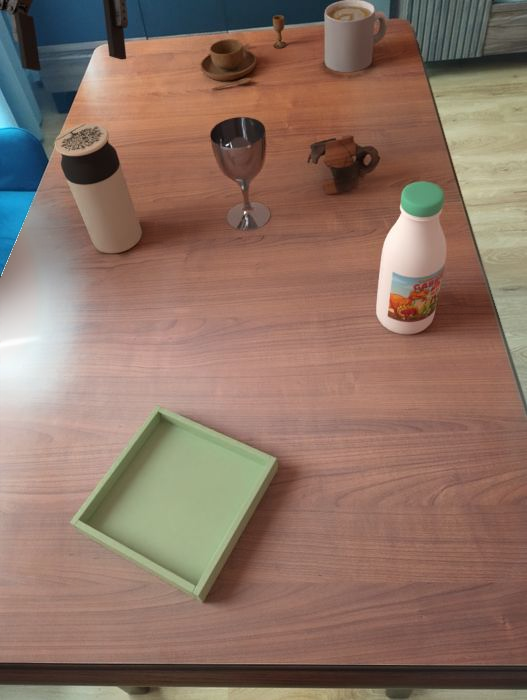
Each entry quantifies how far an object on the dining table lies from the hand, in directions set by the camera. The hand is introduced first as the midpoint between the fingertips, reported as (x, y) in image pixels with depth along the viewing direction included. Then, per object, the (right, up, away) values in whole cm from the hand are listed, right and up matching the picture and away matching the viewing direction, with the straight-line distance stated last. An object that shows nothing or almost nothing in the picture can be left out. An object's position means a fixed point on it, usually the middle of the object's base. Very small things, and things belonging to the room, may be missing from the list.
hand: (73, 64), depth 76 cm
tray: (+15, -54, -11) cm, 57 cm away
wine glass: (+22, -16, +19) cm, 33 cm away
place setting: (+21, +24, +50) cm, 60 cm away
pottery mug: (+38, -8, +23) cm, 45 cm away
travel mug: (+1, -19, +18) cm, 27 cm away
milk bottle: (+44, -33, +3) cm, 55 cm away
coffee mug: (+45, +24, +48) cm, 70 cm away
